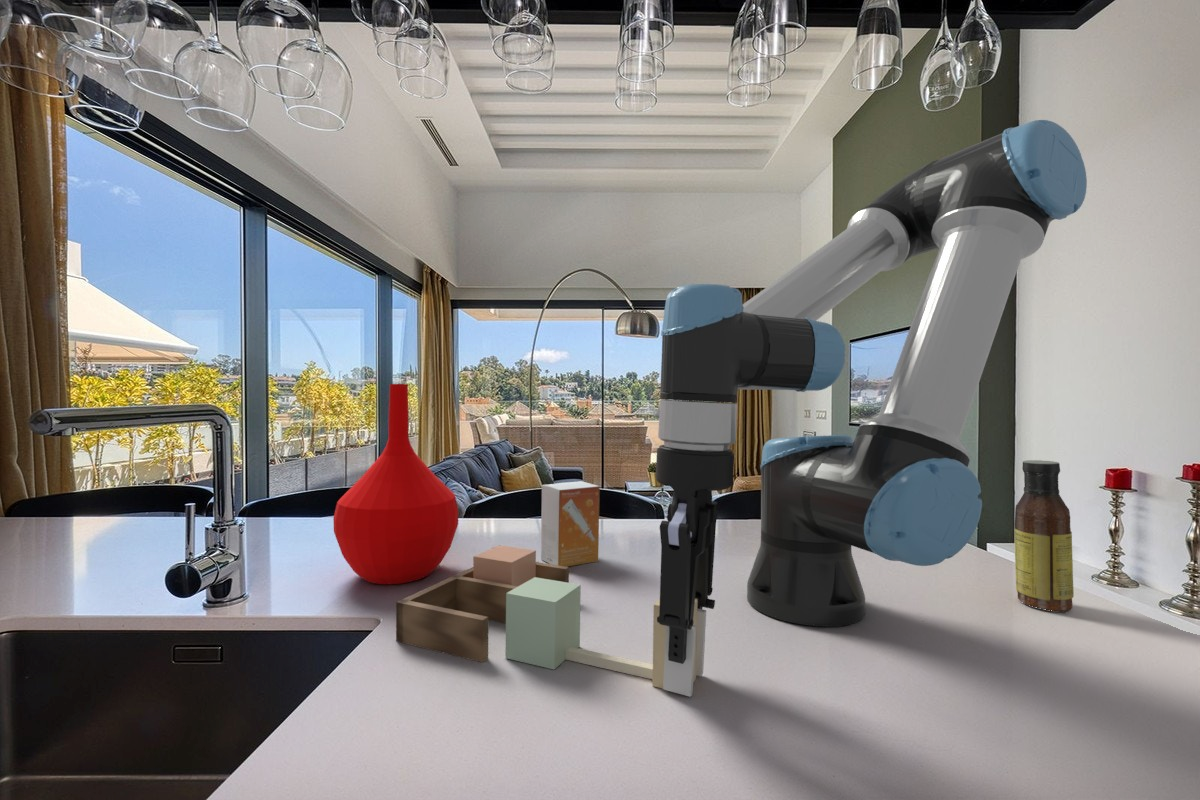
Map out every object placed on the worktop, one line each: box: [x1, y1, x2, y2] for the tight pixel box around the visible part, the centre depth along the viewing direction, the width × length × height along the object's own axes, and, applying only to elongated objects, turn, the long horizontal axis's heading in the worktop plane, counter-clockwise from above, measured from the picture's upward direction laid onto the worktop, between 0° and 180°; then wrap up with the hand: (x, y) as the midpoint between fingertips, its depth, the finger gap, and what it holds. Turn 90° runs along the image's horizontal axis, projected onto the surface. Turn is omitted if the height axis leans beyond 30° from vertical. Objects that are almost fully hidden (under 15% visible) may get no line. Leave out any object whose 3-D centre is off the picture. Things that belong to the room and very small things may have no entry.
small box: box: [540, 480, 600, 567], centre depth 95 cm, size 8×6×13 cm
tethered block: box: [504, 577, 698, 689], centre depth 59 cm, size 20×6×8 cm, turn 66°
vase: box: [332, 383, 459, 585], centre depth 87 cm, size 18×18×30 cm
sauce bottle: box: [1014, 459, 1075, 613], centre depth 77 cm, size 7×6×20 cm
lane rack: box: [395, 561, 570, 663], centre depth 71 cm, size 12×20×4 cm, turn 156°
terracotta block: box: [472, 544, 537, 586], centre depth 76 cm, size 6×6×7 cm
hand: (683, 680), depth 55 cm, fingers closed on tethered block, 3 cm apart
